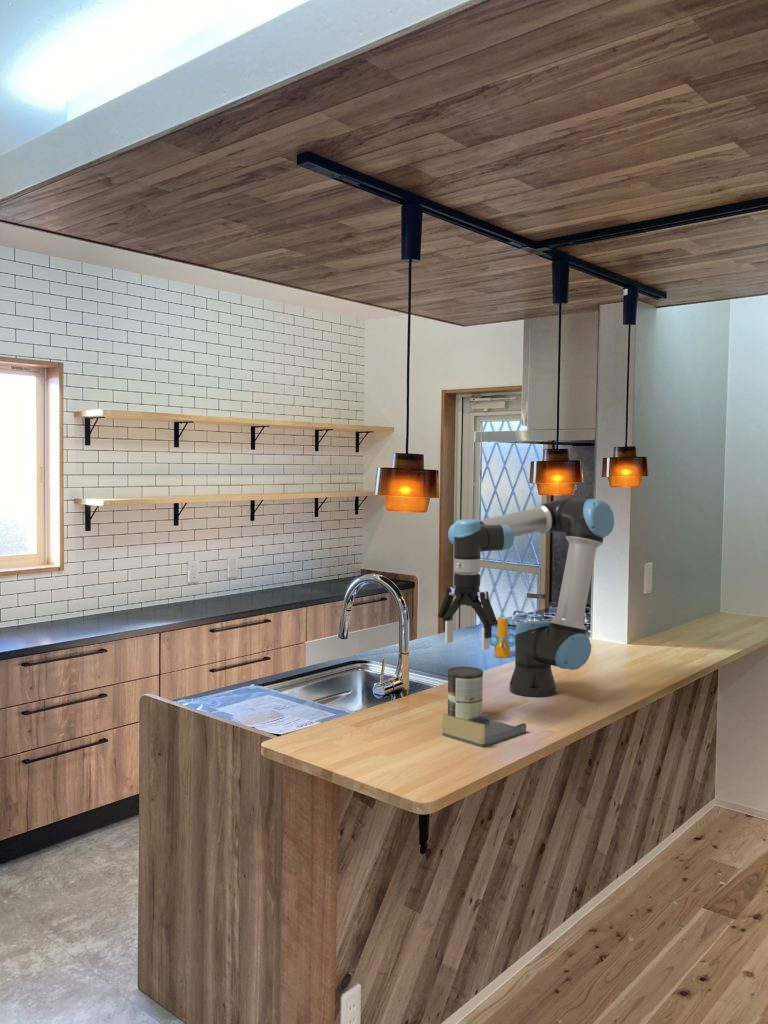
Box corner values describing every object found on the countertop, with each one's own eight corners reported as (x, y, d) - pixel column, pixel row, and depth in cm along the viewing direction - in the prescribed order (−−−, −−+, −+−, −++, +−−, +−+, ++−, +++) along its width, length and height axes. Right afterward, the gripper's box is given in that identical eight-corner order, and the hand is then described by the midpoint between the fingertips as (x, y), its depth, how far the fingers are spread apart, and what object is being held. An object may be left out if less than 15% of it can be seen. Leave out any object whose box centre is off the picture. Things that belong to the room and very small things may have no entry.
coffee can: (440, 718, 249) (440, 670, 248) (460, 711, 257) (460, 664, 256) (469, 725, 242) (470, 676, 242) (489, 717, 250) (490, 670, 250)
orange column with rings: (515, 660, 328) (516, 621, 327) (488, 659, 329) (488, 620, 329) (515, 653, 340) (516, 616, 339) (489, 652, 341) (489, 615, 341)
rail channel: (486, 721, 246) (486, 701, 246) (526, 732, 236) (526, 711, 236) (442, 735, 233) (442, 714, 233) (482, 747, 223) (482, 725, 223)
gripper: (426, 570, 253) (426, 641, 254) (493, 578, 235) (493, 654, 236) (442, 568, 258) (442, 637, 259) (510, 575, 241) (509, 650, 242)
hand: (466, 646), depth 248 cm, fingers open, 13 cm apart
